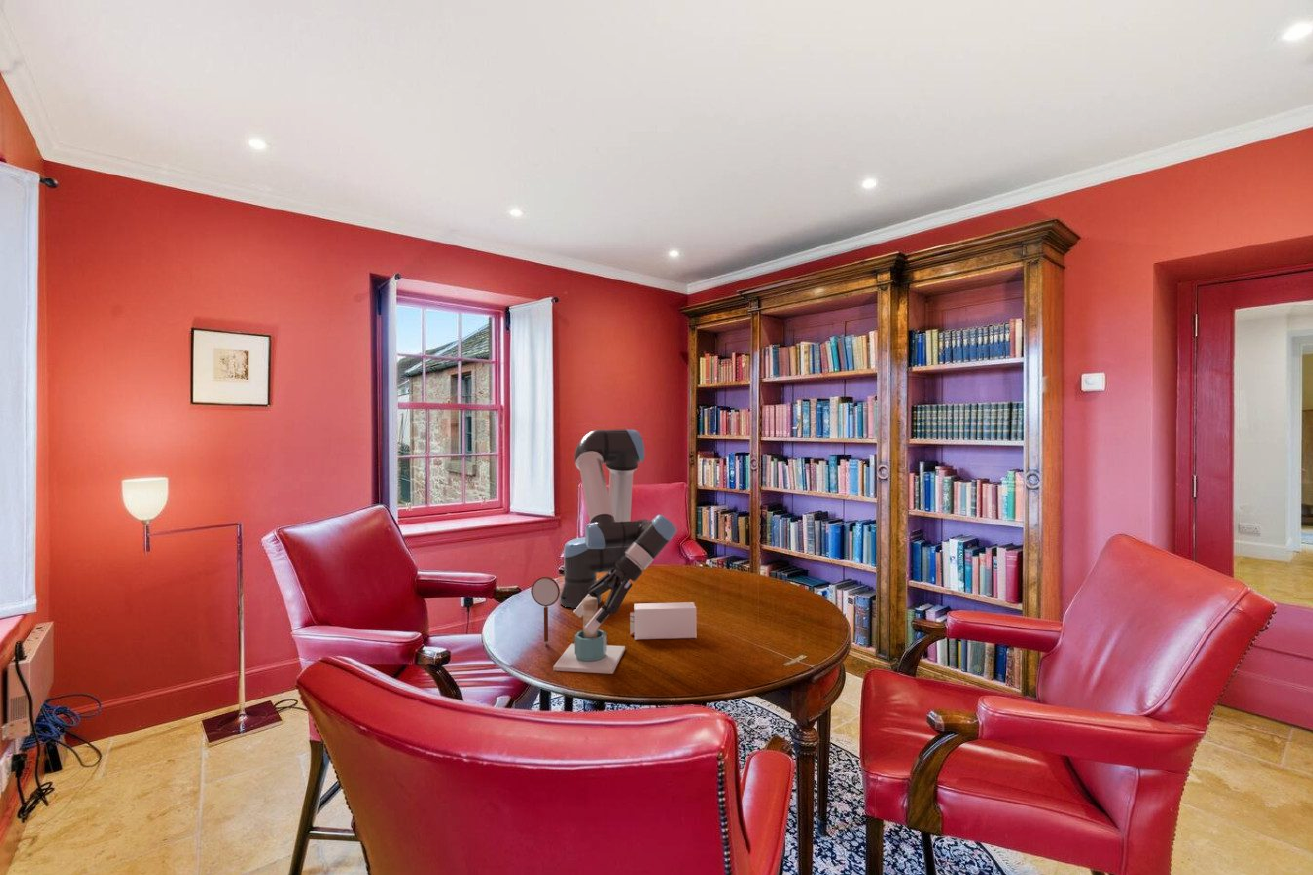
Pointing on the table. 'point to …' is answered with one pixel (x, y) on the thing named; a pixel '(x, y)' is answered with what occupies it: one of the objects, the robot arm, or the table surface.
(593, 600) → the pillar candle on dish
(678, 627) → the cigarette display
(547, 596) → the magnifying glass
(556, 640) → the table surface
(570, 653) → the octagonal cup on tile
